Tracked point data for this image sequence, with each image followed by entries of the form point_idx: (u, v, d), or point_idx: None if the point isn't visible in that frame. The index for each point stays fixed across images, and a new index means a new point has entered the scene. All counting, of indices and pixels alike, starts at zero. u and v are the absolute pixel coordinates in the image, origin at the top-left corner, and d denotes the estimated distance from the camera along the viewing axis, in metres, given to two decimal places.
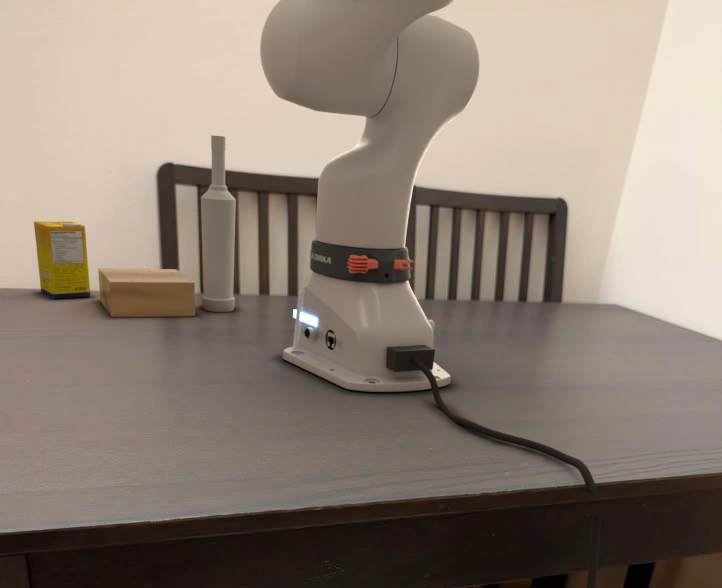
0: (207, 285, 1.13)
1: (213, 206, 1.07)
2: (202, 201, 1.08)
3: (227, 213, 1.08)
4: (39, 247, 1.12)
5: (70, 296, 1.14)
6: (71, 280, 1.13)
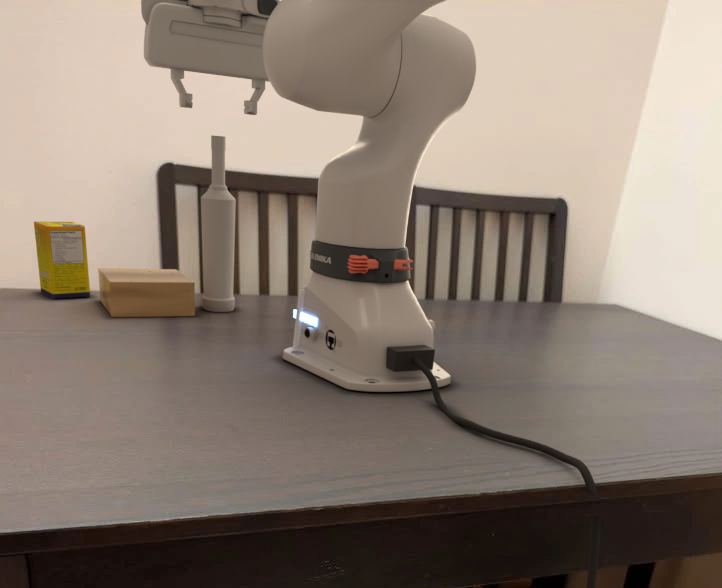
0: (207, 285, 1.13)
1: (213, 206, 1.07)
2: (202, 201, 1.08)
3: (227, 213, 1.08)
4: (39, 247, 1.12)
5: (70, 296, 1.14)
6: (71, 280, 1.13)
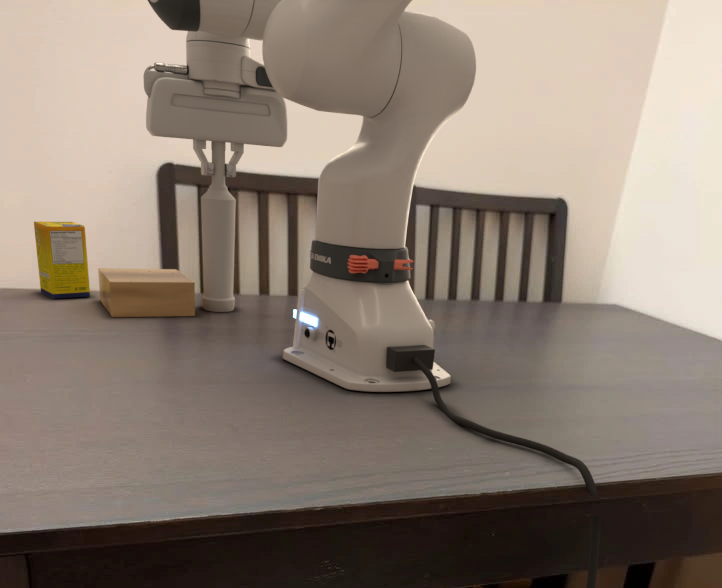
0: (207, 285, 1.13)
1: (213, 206, 1.07)
2: (202, 201, 1.08)
3: (228, 213, 1.08)
4: (39, 247, 1.12)
5: (70, 296, 1.14)
6: (71, 280, 1.13)
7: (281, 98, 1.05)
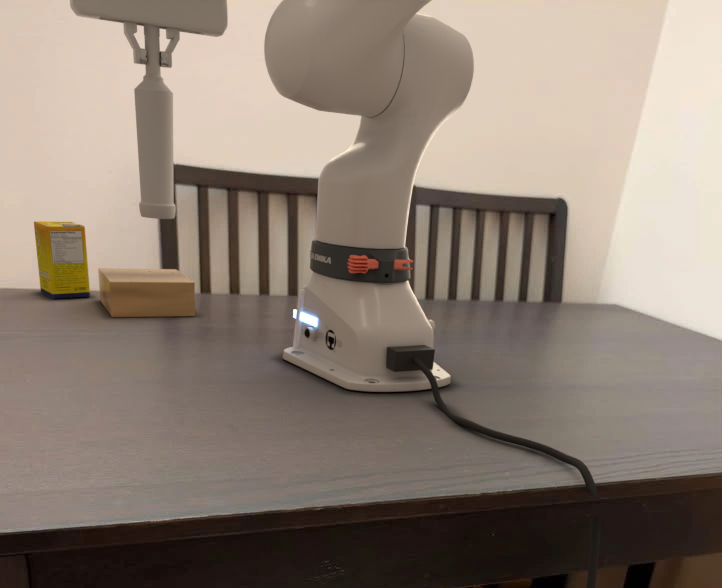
0: (144, 188, 1.04)
1: (147, 98, 0.99)
2: (135, 93, 1.00)
3: (163, 106, 1.00)
4: (39, 247, 1.12)
5: (70, 296, 1.14)
6: (70, 280, 1.13)
7: None
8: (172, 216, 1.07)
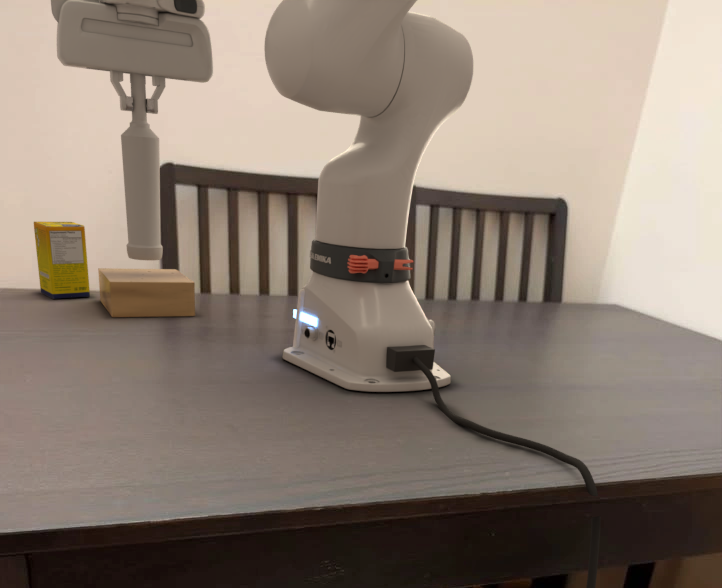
0: (131, 231, 1.06)
1: (133, 144, 1.00)
2: (121, 139, 1.01)
3: (149, 152, 1.01)
4: (39, 247, 1.12)
5: (70, 296, 1.14)
6: (70, 280, 1.13)
7: (204, 27, 0.98)
8: (159, 257, 1.08)
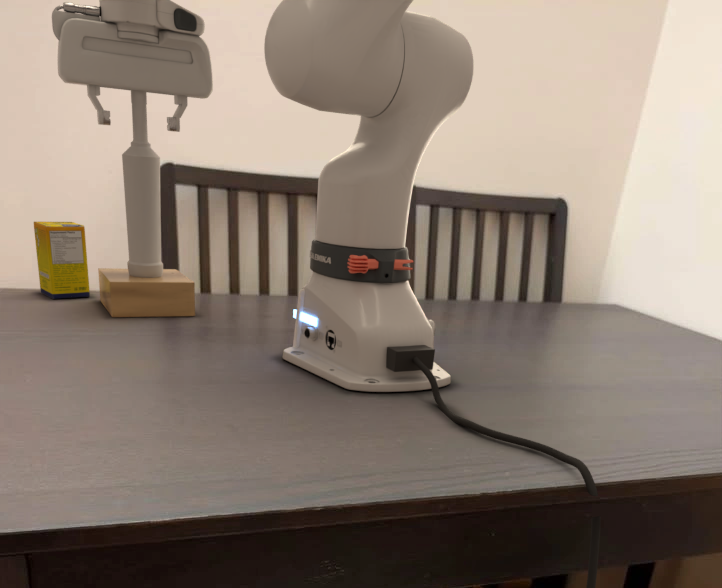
0: (132, 249, 1.07)
1: (134, 164, 1.01)
2: (123, 158, 1.02)
3: (150, 171, 1.02)
4: (38, 247, 1.12)
5: (70, 296, 1.14)
6: (70, 280, 1.13)
7: (204, 44, 0.99)
8: (159, 274, 1.09)
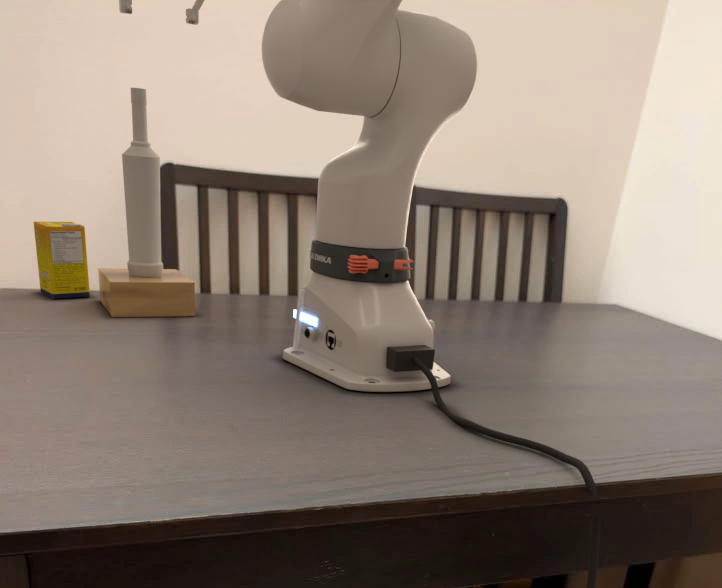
0: (132, 249, 1.07)
1: (134, 164, 1.01)
2: (122, 158, 1.02)
3: (150, 171, 1.02)
4: (38, 247, 1.12)
5: (69, 296, 1.14)
6: (70, 280, 1.13)
7: None
8: (159, 274, 1.09)
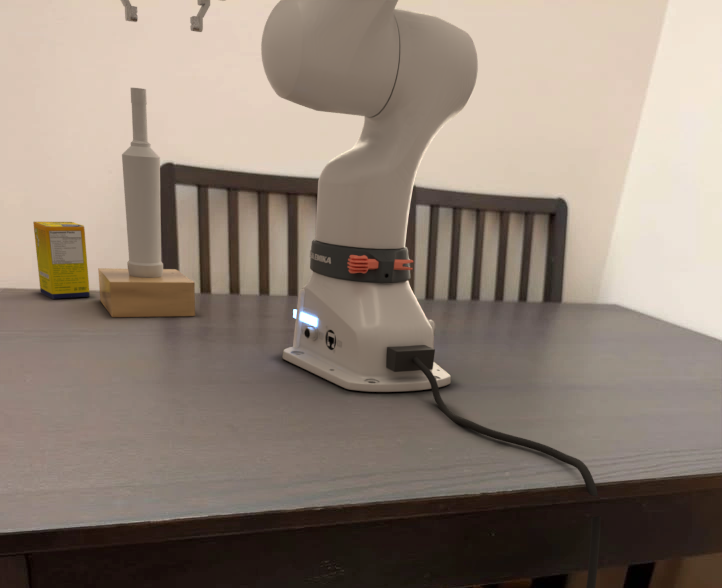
0: (132, 249, 1.07)
1: (134, 164, 1.01)
2: (122, 158, 1.02)
3: (150, 171, 1.02)
4: (38, 247, 1.12)
5: (69, 296, 1.14)
6: (70, 280, 1.13)
7: None
8: (159, 274, 1.09)
